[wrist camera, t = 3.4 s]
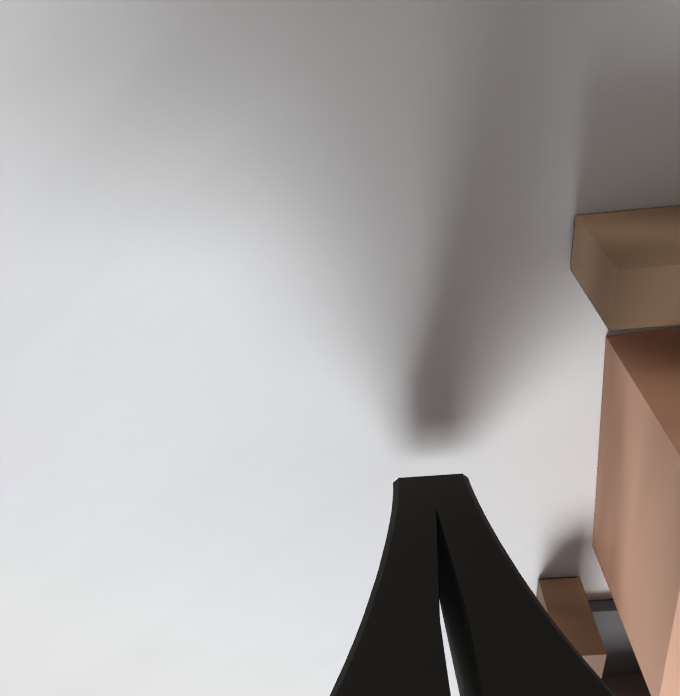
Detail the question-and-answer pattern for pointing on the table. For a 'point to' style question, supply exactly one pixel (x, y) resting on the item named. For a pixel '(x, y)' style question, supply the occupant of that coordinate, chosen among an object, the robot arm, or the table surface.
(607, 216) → the trap box
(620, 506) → the block
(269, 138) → the table surface
